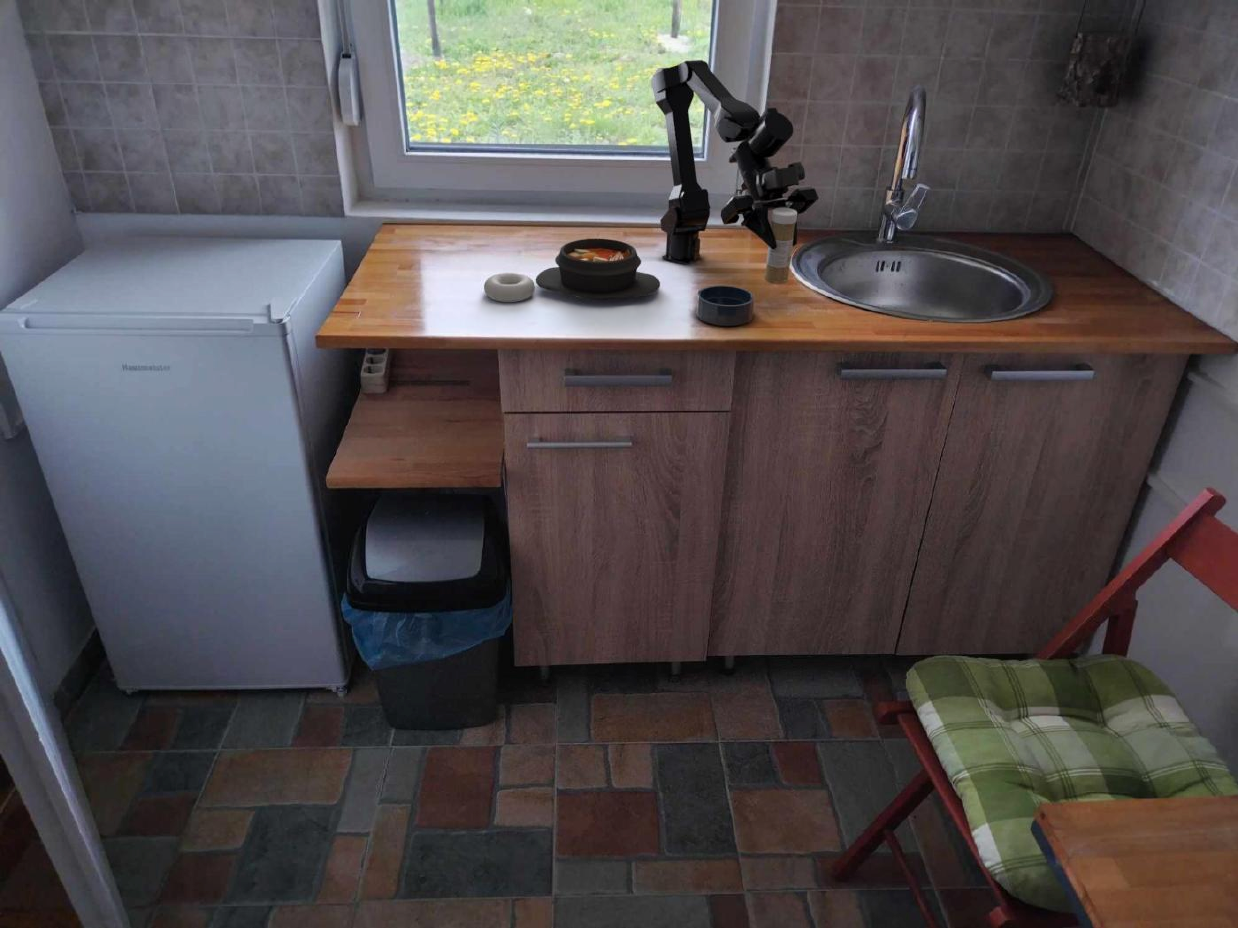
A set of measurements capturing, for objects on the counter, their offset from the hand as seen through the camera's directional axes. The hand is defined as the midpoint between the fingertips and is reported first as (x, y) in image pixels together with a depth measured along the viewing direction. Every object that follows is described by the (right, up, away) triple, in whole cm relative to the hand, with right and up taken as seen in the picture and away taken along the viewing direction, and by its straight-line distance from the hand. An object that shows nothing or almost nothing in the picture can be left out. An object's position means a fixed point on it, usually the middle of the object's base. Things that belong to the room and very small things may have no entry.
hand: (784, 246), depth 169 cm
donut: (-52, -7, +12) cm, 54 cm away
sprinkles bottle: (-1, -6, +5) cm, 7 cm away
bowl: (-11, -12, +5) cm, 17 cm away
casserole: (-35, -5, +15) cm, 38 cm away
